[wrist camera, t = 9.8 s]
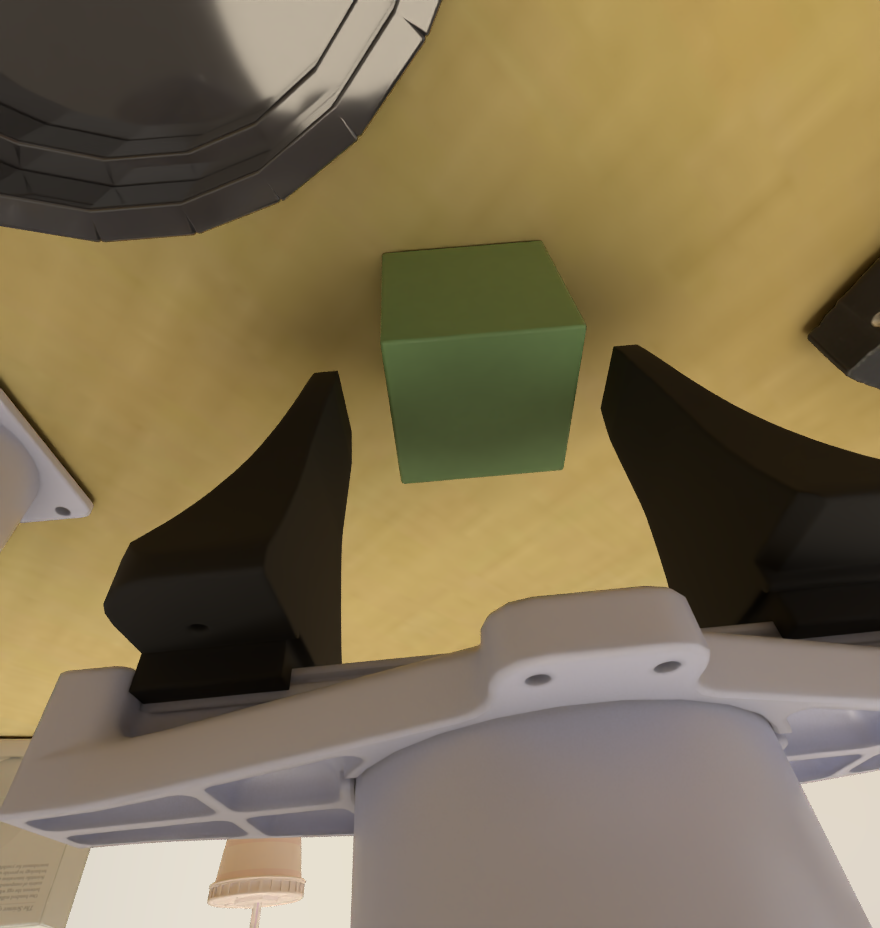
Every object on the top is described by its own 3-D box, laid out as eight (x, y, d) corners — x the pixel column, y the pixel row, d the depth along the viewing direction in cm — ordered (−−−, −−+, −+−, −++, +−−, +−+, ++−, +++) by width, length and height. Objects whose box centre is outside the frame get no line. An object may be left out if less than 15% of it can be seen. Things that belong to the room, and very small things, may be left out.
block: (399, 384, 18) (401, 484, 15) (381, 252, 15) (379, 342, 11) (530, 372, 18) (564, 471, 15) (542, 239, 15) (588, 325, 11)
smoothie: (327, 736, 41) (308, 984, 31) (305, 761, 45) (283, 989, 35) (243, 730, 39) (195, 995, 29) (229, 757, 43) (182, 999, 33)
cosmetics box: (-29, 765, 40) (-123, 950, 33) (-63, 736, 36) (-180, 941, 28) (120, 764, 43) (64, 938, 35) (106, 737, 38) (37, 927, 31)
